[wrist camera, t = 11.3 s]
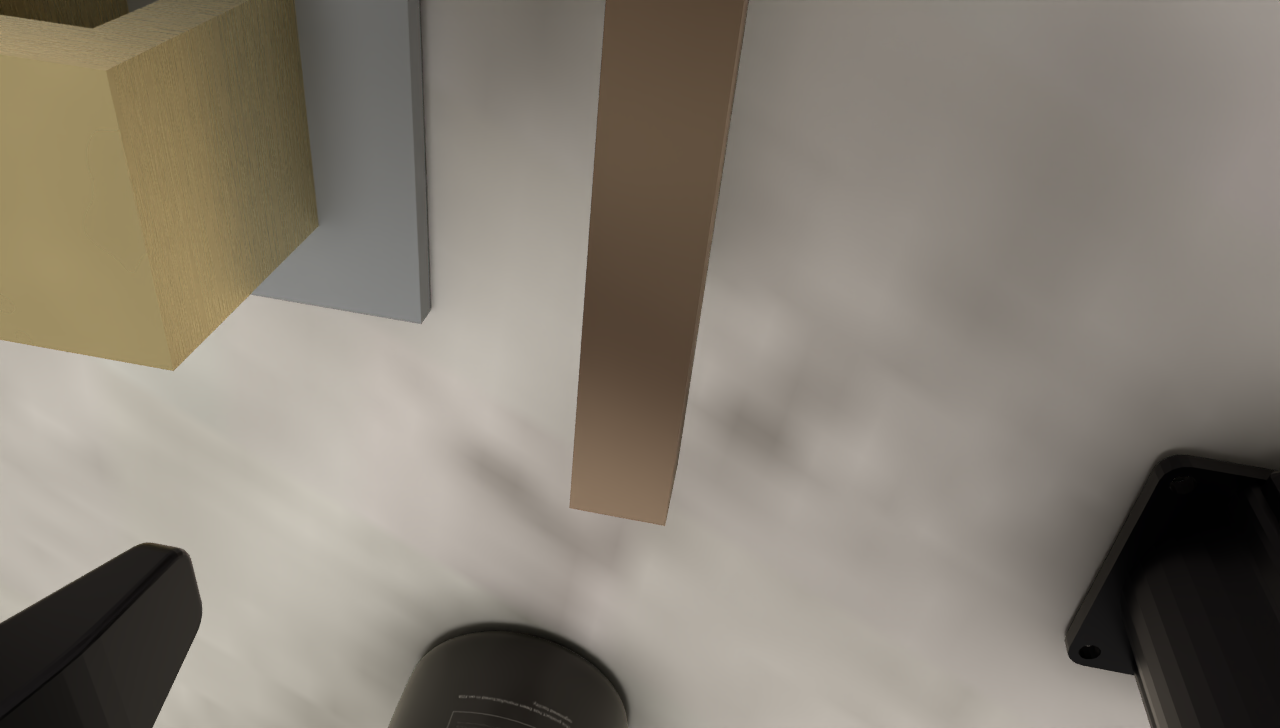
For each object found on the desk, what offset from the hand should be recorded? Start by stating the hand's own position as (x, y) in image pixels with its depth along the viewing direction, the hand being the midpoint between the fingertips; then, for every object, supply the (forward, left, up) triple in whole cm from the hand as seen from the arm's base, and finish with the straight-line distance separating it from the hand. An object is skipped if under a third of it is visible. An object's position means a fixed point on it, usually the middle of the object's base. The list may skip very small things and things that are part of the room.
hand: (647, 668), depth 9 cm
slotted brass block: (0, +11, -11) cm, 16 cm away
